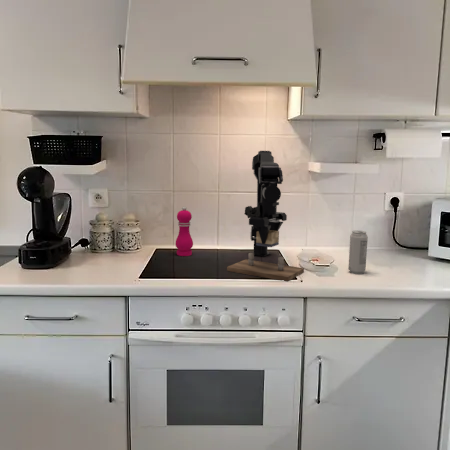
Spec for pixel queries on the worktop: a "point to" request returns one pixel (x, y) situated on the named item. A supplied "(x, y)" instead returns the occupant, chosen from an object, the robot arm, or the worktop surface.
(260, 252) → the robot arm
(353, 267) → the energy drink can
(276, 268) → the pin board
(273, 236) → the sleeve
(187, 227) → the pepper mill
